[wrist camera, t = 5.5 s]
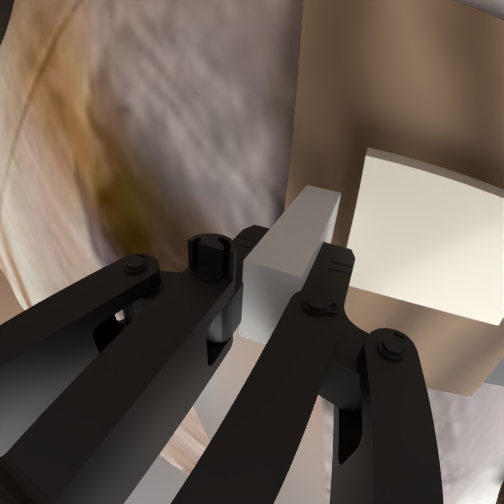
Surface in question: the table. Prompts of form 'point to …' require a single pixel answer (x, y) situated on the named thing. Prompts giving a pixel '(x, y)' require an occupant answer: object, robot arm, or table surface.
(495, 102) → the serving board
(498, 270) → the cream rectangular block
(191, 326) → the robot arm
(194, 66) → the table surface
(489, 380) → the place mat
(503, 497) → the decorative turtle
